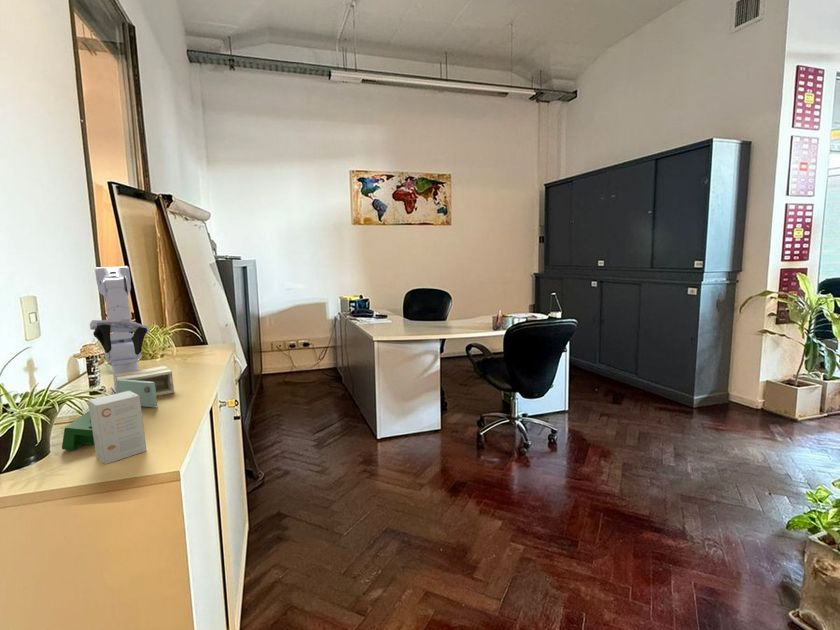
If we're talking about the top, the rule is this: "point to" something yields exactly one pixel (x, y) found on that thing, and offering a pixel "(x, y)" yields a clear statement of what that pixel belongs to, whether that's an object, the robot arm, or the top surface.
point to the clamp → (78, 433)
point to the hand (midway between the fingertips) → (123, 352)
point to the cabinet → (151, 378)
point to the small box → (117, 426)
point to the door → (139, 390)
